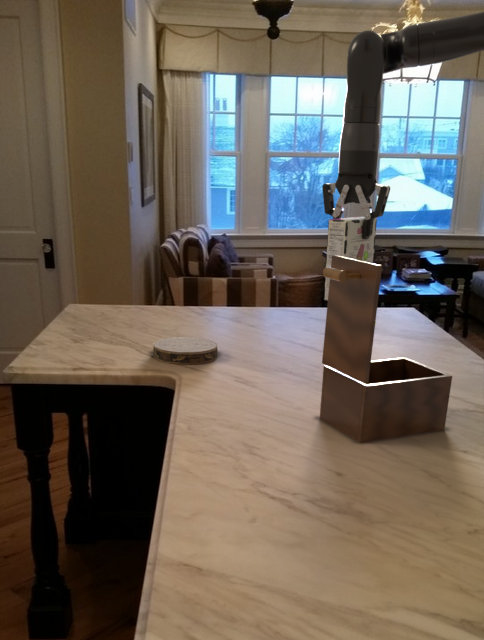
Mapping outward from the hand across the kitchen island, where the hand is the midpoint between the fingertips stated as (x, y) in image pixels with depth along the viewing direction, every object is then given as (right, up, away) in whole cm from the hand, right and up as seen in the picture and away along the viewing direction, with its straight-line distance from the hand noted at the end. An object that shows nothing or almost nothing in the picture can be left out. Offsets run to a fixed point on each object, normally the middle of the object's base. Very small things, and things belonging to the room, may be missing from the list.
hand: (351, 237), depth 145 cm
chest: (+3, -39, -13) cm, 42 cm away
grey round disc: (-36, -21, +30) cm, 52 cm away
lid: (-4, -21, -24) cm, 32 cm away
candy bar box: (0, -12, +5) cm, 13 cm away
